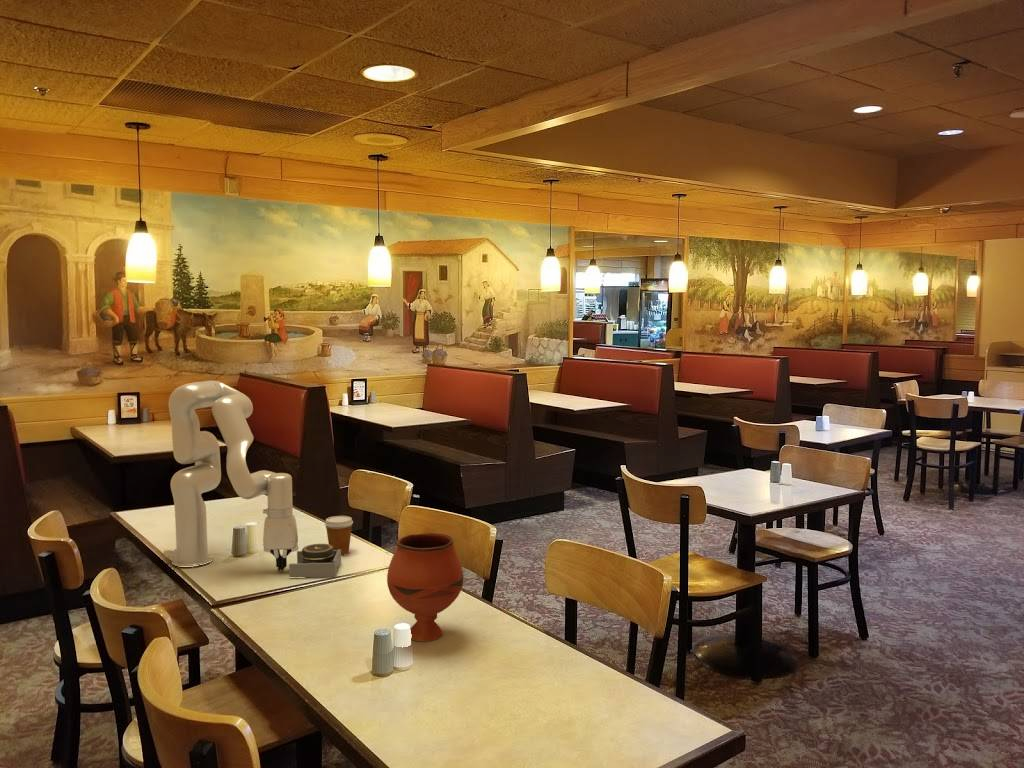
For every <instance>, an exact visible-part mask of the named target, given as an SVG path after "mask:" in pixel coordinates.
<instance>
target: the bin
mask: <svg viewBox="0 0 1024 768" xmlns="http://www.w3.org/2000/svg"><path fill="white" fill-rule="evenodd" d="M296 561H297V563H289V564H288V572H289V573H288V574H289V577H334V578H336V577H337V575H336V574H338V572H339V570H340V567H341V565H342V556H341V549H338V550H334V559H333V563H302V550H297V551H296ZM340 564H341V565H340ZM339 566H340V567H339ZM338 569H339V570H338ZM337 571H338V572H337ZM335 576H336V577H335Z"/></svg>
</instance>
